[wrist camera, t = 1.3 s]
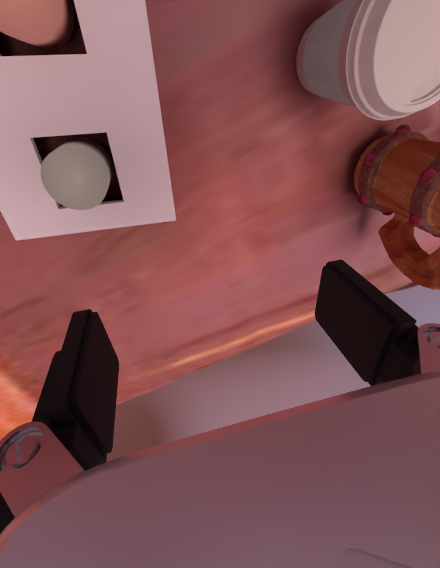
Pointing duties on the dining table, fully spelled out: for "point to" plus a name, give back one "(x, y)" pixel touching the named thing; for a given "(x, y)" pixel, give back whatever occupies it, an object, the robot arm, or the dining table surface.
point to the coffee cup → (374, 56)
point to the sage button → (77, 174)
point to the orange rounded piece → (38, 21)
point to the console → (86, 123)
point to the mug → (404, 198)
